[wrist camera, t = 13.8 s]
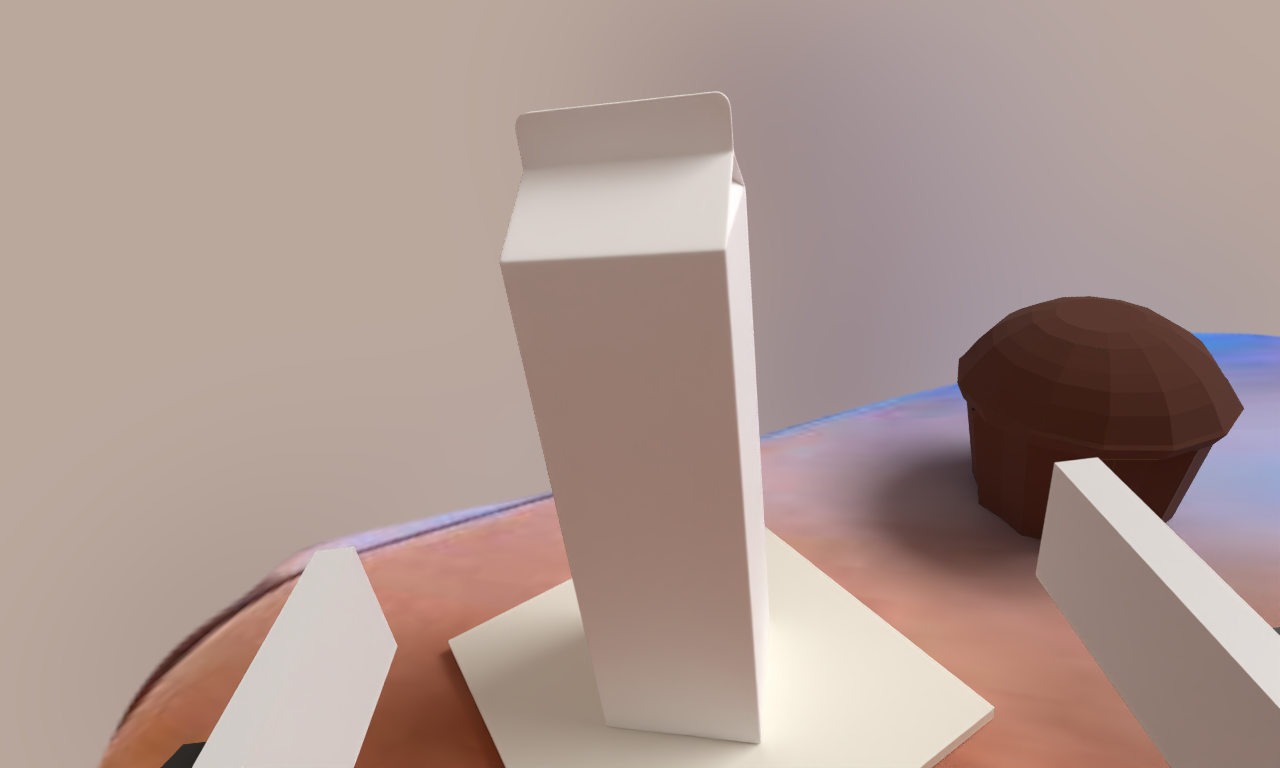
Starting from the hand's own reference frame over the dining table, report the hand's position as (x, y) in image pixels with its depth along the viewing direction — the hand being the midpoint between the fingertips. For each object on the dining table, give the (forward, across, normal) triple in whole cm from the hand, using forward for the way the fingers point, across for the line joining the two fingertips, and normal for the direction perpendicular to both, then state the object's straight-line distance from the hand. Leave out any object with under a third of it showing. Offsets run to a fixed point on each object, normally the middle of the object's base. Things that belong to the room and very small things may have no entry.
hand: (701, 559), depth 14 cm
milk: (+10, -1, -15) cm, 18 cm away
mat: (+10, -1, -15) cm, 18 cm away
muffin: (+19, +19, -16) cm, 31 cm away
